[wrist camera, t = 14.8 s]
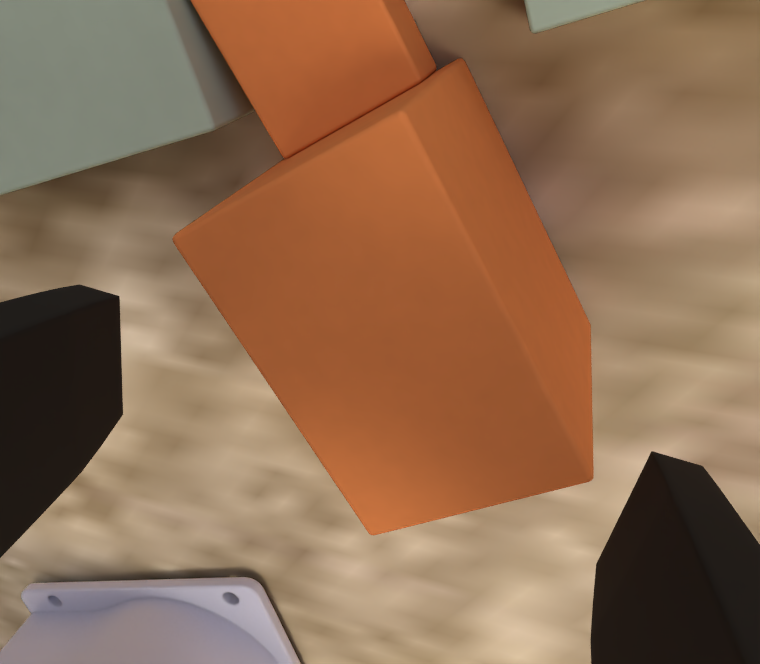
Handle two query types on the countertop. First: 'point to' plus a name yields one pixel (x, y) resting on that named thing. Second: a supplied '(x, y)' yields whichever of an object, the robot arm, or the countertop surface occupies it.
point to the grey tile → (130, 80)
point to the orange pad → (393, 269)
